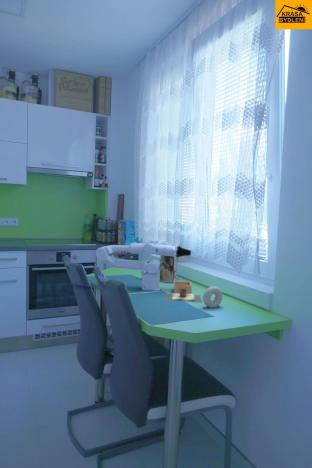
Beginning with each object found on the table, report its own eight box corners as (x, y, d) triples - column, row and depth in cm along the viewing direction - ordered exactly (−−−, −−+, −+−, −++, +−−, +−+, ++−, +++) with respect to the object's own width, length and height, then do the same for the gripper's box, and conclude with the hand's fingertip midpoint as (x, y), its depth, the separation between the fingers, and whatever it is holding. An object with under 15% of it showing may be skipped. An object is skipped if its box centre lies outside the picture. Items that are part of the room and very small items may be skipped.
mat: (163, 301, 160) (164, 300, 160) (164, 294, 173) (164, 293, 173) (202, 303, 159) (202, 302, 159) (200, 296, 172) (200, 295, 172)
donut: (205, 310, 149) (206, 287, 148) (200, 308, 152) (201, 286, 151) (223, 308, 153) (224, 286, 152) (218, 305, 156) (219, 284, 156)
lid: (171, 300, 161) (171, 290, 160) (171, 294, 172) (172, 285, 171) (194, 301, 160) (195, 291, 160) (193, 295, 171) (193, 286, 171)
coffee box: (176, 281, 207) (177, 255, 205) (173, 283, 201) (174, 256, 200) (162, 279, 210) (163, 254, 209) (159, 281, 204) (160, 255, 203)
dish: (173, 294, 175) (174, 284, 174) (173, 290, 184) (174, 281, 183) (191, 295, 174) (191, 285, 174) (190, 291, 183) (190, 281, 183)
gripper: (164, 243, 174) (191, 245, 173) (167, 242, 189) (191, 245, 187) (163, 256, 174) (189, 259, 173) (166, 255, 189) (190, 257, 187)
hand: (190, 252), depth 180 cm, fingers open, 7 cm apart
